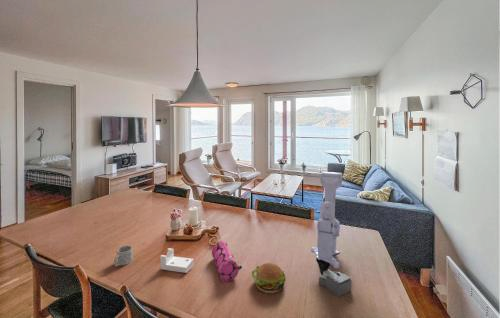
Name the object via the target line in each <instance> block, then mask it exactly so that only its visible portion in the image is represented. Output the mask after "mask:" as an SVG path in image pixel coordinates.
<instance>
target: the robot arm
mask: <svg viewBox="0 0 500 318" xmlns="http://www.w3.org/2000/svg"><path fill="white" fill-rule="evenodd" d="M319 181H320V184H321V187H323V188H324V202H322V203H321V204H320V212H319V218H318V220H317V225H316V226H317V227H316V230H317V239H316V240H317V241H316V243H317V244H316V246H315V247H314V246H312V247H311V248H310V249H311V250H310V253H312V254H313V253H314V254H315V256H316V257H315V261H316V263H317V265H318V268H319V272H320V275H321V276H323V272H324V271H326V270H329V269H330V268H329V267H330V266H333V268H334V269H339V268H340V262H338V261H337V260H336V258H335V257H334V256H335V255H337V254H339V253H340V251H339V250H338V249H337V238H339V237H340V231H341V230H340V229H341V224H340V221H339V220H338V219H336V215H335V214H336V213H335V212H336V196H337V195H336V194H337V190H338V189H339V188H341V187H342V183H343V173H342V172H332V171H322V172H320V180H319Z"/></svg>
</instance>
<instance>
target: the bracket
mask: <svg viewBox="0 0 500 318" xmlns="http://www.w3.org/2000/svg"><path fill="white" fill-rule="evenodd" d="M174 251H175V249H174V248H170V247H168V248H167V253H166V255H165V254H161V255H160V257H159V259H160V270H164V271H170V272H177V273H185V274H187V273H188V272H189V270H191V269H192V268H194V265H195V263H194V259H195V258H189V257H183V256H175V253H174Z"/></svg>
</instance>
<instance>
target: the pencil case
mask: <svg viewBox="0 0 500 318" xmlns="http://www.w3.org/2000/svg"><path fill="white" fill-rule="evenodd" d="M211 255H212V258H213V261H214V263H215V266H216V270H217V273H218V275H219V278H220V280H221V281H222V282H225V283H226V282H230V281H233V280H234V279H235V278H236V277H238V274H239V271H240V270H241V269H242V265H238V264H237V262H236V260H235V257H234V255H233V254H232V253H231V252H230V250H229V247H228V244H227V242H225V241H218V242H217V243H215V244H214V245H213V246H212V249H211Z"/></svg>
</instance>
